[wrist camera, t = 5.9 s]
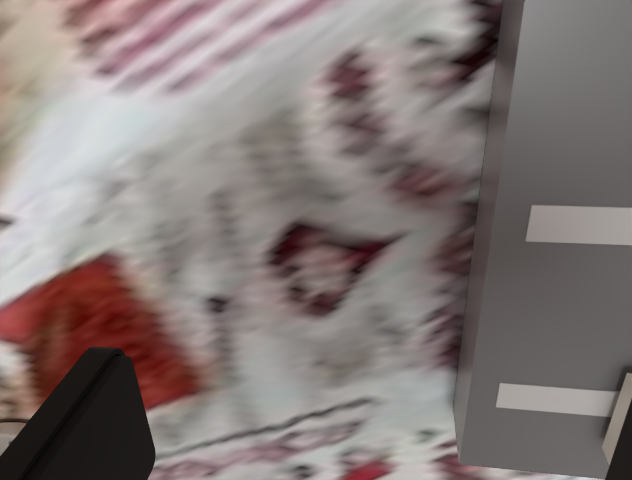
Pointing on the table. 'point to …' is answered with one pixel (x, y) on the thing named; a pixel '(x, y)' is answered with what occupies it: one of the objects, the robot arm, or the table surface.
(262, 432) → the table surface
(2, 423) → the robot arm
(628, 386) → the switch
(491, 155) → the power strip
